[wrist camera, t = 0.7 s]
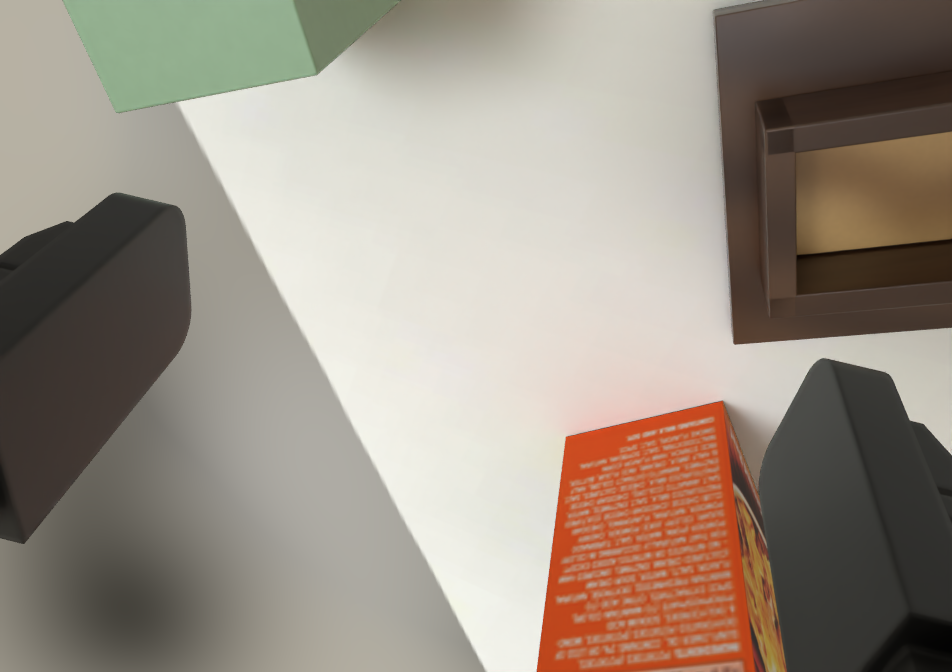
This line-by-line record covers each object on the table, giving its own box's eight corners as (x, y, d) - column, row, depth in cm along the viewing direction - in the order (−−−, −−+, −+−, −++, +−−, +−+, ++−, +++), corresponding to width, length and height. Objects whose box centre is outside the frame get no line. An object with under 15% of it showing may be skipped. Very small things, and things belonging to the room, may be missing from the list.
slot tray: (712, 9, 28) (721, 38, 25) (1108, -65, 25) (1176, -42, 22) (731, 332, 36) (740, 387, 32) (1038, 307, 32) (1081, 365, 29)
